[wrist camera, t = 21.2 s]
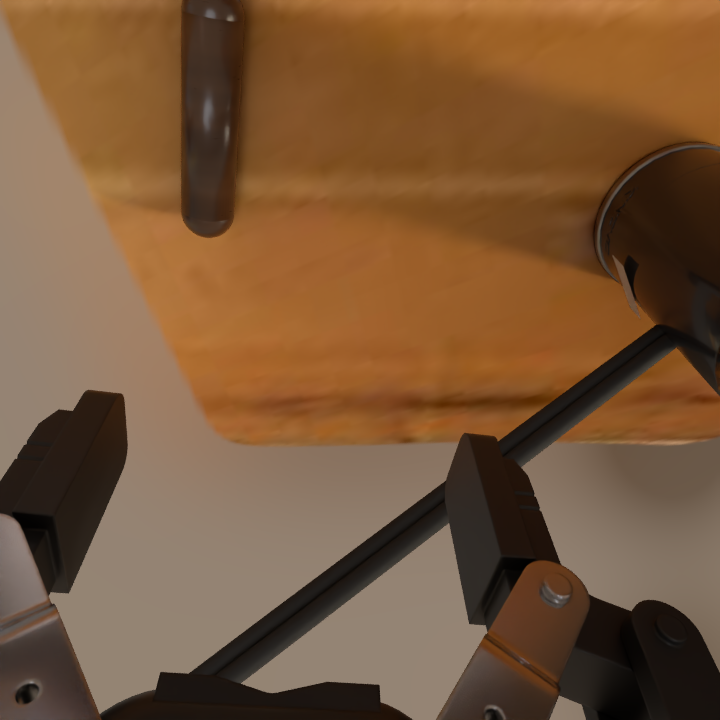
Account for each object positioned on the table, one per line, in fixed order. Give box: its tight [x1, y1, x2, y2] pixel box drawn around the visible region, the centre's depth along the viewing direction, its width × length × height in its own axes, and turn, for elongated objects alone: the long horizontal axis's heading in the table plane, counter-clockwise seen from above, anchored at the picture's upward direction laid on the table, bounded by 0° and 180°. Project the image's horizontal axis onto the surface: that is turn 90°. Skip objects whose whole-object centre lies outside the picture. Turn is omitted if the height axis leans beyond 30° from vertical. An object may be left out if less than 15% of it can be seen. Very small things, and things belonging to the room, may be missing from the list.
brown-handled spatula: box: [181, 0, 245, 238], centre depth 29 cm, size 20×3×3 cm, turn 170°
